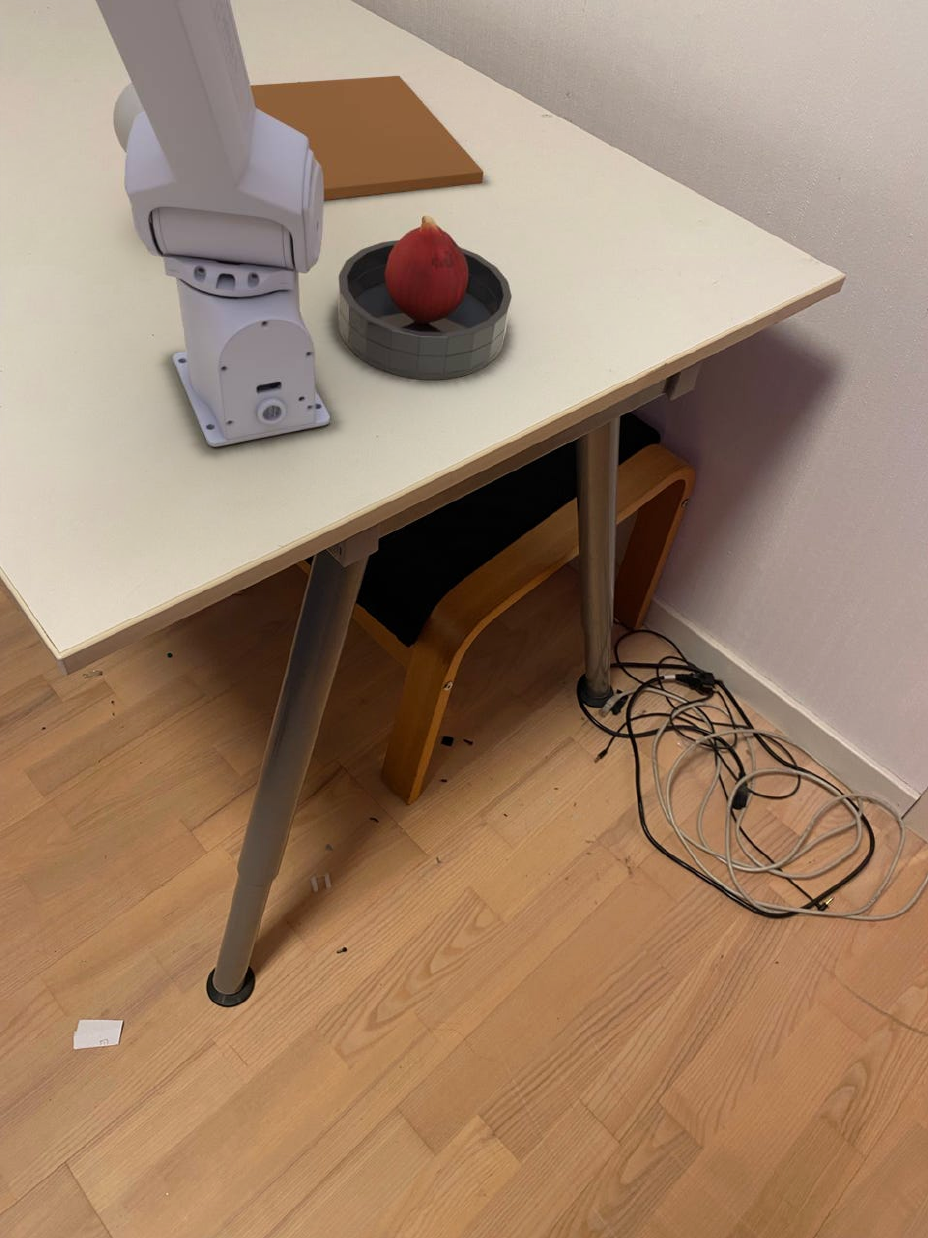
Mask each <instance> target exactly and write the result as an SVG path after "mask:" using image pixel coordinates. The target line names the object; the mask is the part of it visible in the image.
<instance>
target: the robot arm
mask: <svg viewBox="0 0 928 1238" xmlns="http://www.w3.org/2000/svg"><path fill="white" fill-rule="evenodd" d="M95 2H96V5H97V7H98V9H99V12H100V14H101V16H102V18H103V20H104V23H105V25H106V27H107V29H108V32H109V35H110V36H111V39H112V41H113V43H114V45H115V47H116V50H117V52H118V54H119V56H120V59H121V61H122V63H123V65H124V68H125V70H126V72H127V75H128V77H129V79H130V82H131V83H132V84H133V86H134V88H135V90H136V93H137V95H138V97H139V99H140V102H141V104H142V106H143V108H144V111H143V112H141V113H139V114H137V115H136V116H135V118H134V122H133V125H132V129H131V131H130V134H129V138H128V144H127V150H126V153H125V160H124V182H123V183H124V190H125V193H126V195H127V197H128V200H129V203H130V206H131V214H132V220H133V224H134V228H135V231H136V234H137V237H138V239H139V240H140V242H141V243H142V244H143V246H144V248H146V251H147V252H148V253H149V254H150V255H152V256H154V257H161V258H163V265H164V271H165V272H164V273H165V275H166V276H167V277H173V278H175V281H176V282H175V283H176V289H177V295H178V296H177V297H178V302H179V311H180V317H181V322H182V323H181V325H182V331H183V337H184V345H185V350H184V351H179V352H176V353H174V354H173V356H172V361H173V364H174V367H175V369H176V371H177V374H178V377H179V379H180V381H181V384H182V385H183V388H184V391H185V393H186V396H187V397H188V400H189V403H190V405H191V408H192V410H193V412H194V415H195V417H196V420H197V421H198V424H199V427H200V429H201V432H202V433H203V436H204V439H205V441H206V443H207V445H208V446H210V447H213V448H214V447H215V448H218V447H221V446H227V445H233V444H237V443H238V444H239V443H243V442H247V441H252V440H257V439H262V438H267V437H273V436H277V435H282V434H288V433H292V432H296V431H302V430H309V429H313V428H318V427H323V426H327V425H328V424H329V423H330V422H331V415H330V413H329V411H328V410H327V408H326V405H325V404H324V402H323V400H322V398H321V396H320V395H319V393H318V391H317V389H316V350H315V349H316V348H315V344H314V340H313V338H312V335H311V334H310V331H309V329H308V328H307V326H306V324H305V323H306V322H305V321H304V319H303V316H302V314H301V309H300V307H301V306H300V275H299V274H308V273H309V272H310V271H311V269H312V268H313V267H315V265H317V263H318V261H319V257H320V253H321V246H322V238H323V237H322V236H323V227H324V226H323V225H324V201H325V200H324V187H323V172H322V167H321V165H320V164H319V163H318V162H317V160H316V159H315V157H314V154H313V152H312V150H311V149H310V148H309V141H308V138H307V137H306V136H305V135H304V134H302V133H300V132H298V131H297V130H295V129H293V128H291V127H290V126H288V125H286V124H284V123H282V122H280V121H279V120H277V119H275V118H273V117H271V116H269V115H267V114H266V113H264V112H262V111H261V110H259V109H257V108H256V107H255V102H254V98H253V94H252V90H251V86H250V85H251V82H250V78H249V75H248V70H247V65H246V62H245V57H244V53H243V49H242V44H241V40H240V37H239V36H240V35H239V32H238V29H237V23H236V19H235V16H234V12H233V8H232V4H231V0H95Z"/></svg>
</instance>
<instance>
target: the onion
mask: <svg viewBox="0 0 928 1238" xmlns="http://www.w3.org/2000/svg"><path fill="white" fill-rule="evenodd" d="M398 240H399V241H398V242H397V243H396V244H395V246H394V247H393V249H392V251H391V253H390V254H389V258H388V262H387V265H386V270H385V284H386V287H387V290H388V293H389V295H390V297H391V299H392V301H393V302H394V304H395V305H396V306H397V307H398V308H399V309H400V310H401V311H402V312H404V313H405V314H406V315H407V316H409V317H410V318H411V319H413V321H415V322H417V323H418V324H426V323H431V322H435V321H438V320H441V319H443V318H444V317H446V316H447V315H449V314H450V313H452V312H453V311H454V310H456V309H457V307H458V306H459V305H460V304H461V302H462V301H463V299H464V295H465V292H466V288H467V283H468V266H467V261H466V258H465V256H464V254H463V252H462V250H461V249H460V248H459V247H460V246H459V245H458V244H457V242H456V241H455V240H454V238H453V237H452V236H451V235H450V234H449V233H448V232H446V231H445V230H443V229H442V228H441V227H440V226H439V225H438V224H437V223H436V221H435V219H434V218H433V217H431V216H430V215H423V216H422V217H421V224H420V226H419V227H416V228H413V229H412V230H410V231H408V232H407V233H405V234H404V235H403V236H402V237H401V238H400V239H398Z"/></svg>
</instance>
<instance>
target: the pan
mask: <svg viewBox="0 0 928 1238" xmlns="http://www.w3.org/2000/svg"><path fill="white" fill-rule="evenodd" d="M399 240H400V239H397V240H390V241H389V240H388V241H381V242H378V243H375V244H372V245H369V246H368V247H365V248H362V249H360V250H358V251H357V252H356V253H354V254H353V255H352V256H350V257H349V258H348V259H347V260H345V262H344V265H343V266H342V268H341V270H340V272H339V273H338V297H337V298H338V301H337V302H338V303H337V304H338V305H337V307H338V329H339V333H340V336H341V339H342V340H343V342H344V343H345V344H346V346H347V347H348V349H350V351H351V352H353V354H355V355H356V356H357V357H358V358H359V359H361V360H362V361H364V362H365V363H367V364H368V365H370V366H373V367H374V368H377V370H378V369H379V370H381V371H384V372H387V373H389V374H393V375H396V376H399V377H404V378H410V379H417V380H432V381H433V380H434V381H435V380H449V379H454V378H456V379H457V378H460V377H464V376H467V375H470V374H473V373H475V372H478V371H480V370H481V369H483V368H485V367H486V366H489V364H490V363H492V362H493V361H494V360H495V359H496V358H497V356H498V355H499V353H500V352H501V350H502V348H503V345H504V340H505V336H506V333H507V327H508V322H509V316H510V310H511V304H512V298H513V296H512V291H511V288H510V284H509V281H508V279H507V278H506V277H505V276H504V274H503V273H502V272H501V270H499V268H498V267H497V266H496V265H495V264H493V263H492V262H490V261H488V260H487V259H486V258H484V257H482V256H481V255H480V254H477V253H475V252H474V251H471V250H469V249H468V250H467V248H463V247H460V246H459V248H460V249H461V250H462V252H463V254H464V256H465V258H466V261H467V266H468V283H467V288H466V292H465V295H464V299H463V301H462V302H461V304H460V305H459V306H458V307H457V309H456V310H454V311H453V312H452V313H450V314H449V315H447V316H446V317H444V318H443V319H441V320H438V321H435V322H431V323H426V324H418V323H417V322H415V321H413V319H411V318H410V317H409V316H407V315H406V314H405V313H404V312H402V311H401V310H400V309H399V308H398V307H397V306H396V305H395V304H394V302H393V301H392V299H391V297H390V295H389V293H388V290H387V287H386V284H385V270H386V265H387V262H388V258H389V254H390V253H391V251H392V249H393V247H394V246H395V244H396V243H397V242H398V241H399Z"/></svg>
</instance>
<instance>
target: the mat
mask: <svg viewBox="0 0 928 1238" xmlns="http://www.w3.org/2000/svg"><path fill="white" fill-rule="evenodd" d="M250 86H251V90H252V94H253V98H254V102H255V107H256V108H257V109H259V110H261V111H262V112H264V113H266V114H267V115H269V116H271V117H273V118H275V119H277V120H279V121H280V122H282V123H284V124H286V125H288V126H290V127H291V128H293V129H295V130H297V131H298V132H300V133H302V134H304V135H305V136H306V137H307V138H308V141H309V148H310V149H311V150H312V152H313V154H314V157H315V159H316V160H317V162H318V163H319V164H320V165H321V167H322V172H323V187H324V201H328V200H338V199H346V198H355V197H364V196H373V195H374V196H375V195H382V194H391V193H398V192H406V191H407V192H408V191H416V190H417V191H418V190H426V189H427V190H428V189H435V188H442V187H443V188H445V187H453V186H461V185H470V184H478V183H479V184H480V183H483V179H484V170H483V169H482V168H481V167H480V166H479V164H478V163H477V162H476V161H475V160H474V159H473V158H472V157H471V155H470V154H469V153H468V152H467V151H466V150H465V149H464V148H463V146H462V145H461V144H460V142H459V141H457V140H456V138H455V137H454V136H453V135H452V134H451V133H450V131H449V130H448V129H447V128H446V127H445V126H444V125H443V124H442V123H441V121H440V120H439V119H438V118H437V117H436V116H435V114H434V113H432V111H431V110H430V109H429V107H428V106H426V104H425V103H424V102H423V101H422V100H421V99H420V97H419V96H418V95H417V94H416V93H415V92H414V91H413V89H411V87H410V86H409V85H408V84H407V83H406V81H405V80H404V79H403V78H402V77H401V76H400V75H388V76H371V77H358V78H343V79H327V80H313V81H311V80H310V81H296V82H295V81H294V82H283V83H282V82H280V83H266V84H265V83H264V84H253V85H252V84H250Z"/></svg>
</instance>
